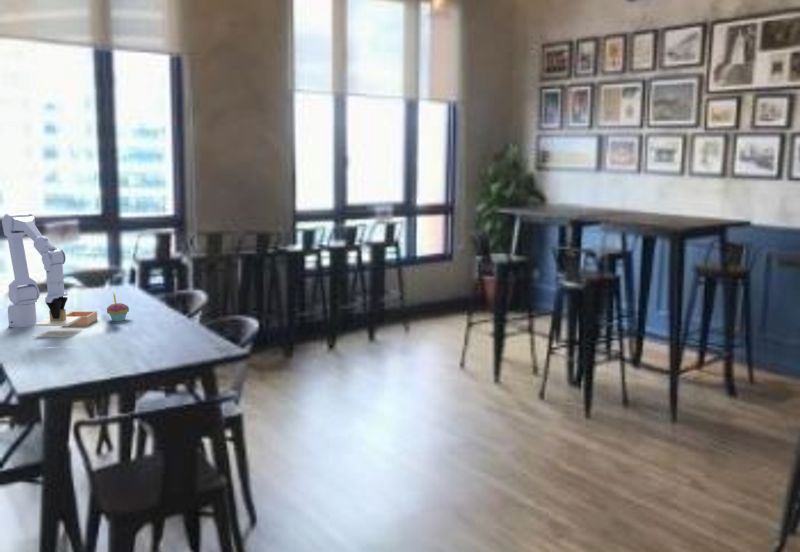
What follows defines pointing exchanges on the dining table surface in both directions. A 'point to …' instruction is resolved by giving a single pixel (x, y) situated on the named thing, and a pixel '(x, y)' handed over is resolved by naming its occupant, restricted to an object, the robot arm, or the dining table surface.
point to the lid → (58, 320)
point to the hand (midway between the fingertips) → (57, 317)
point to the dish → (83, 317)
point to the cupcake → (117, 311)
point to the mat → (58, 332)
